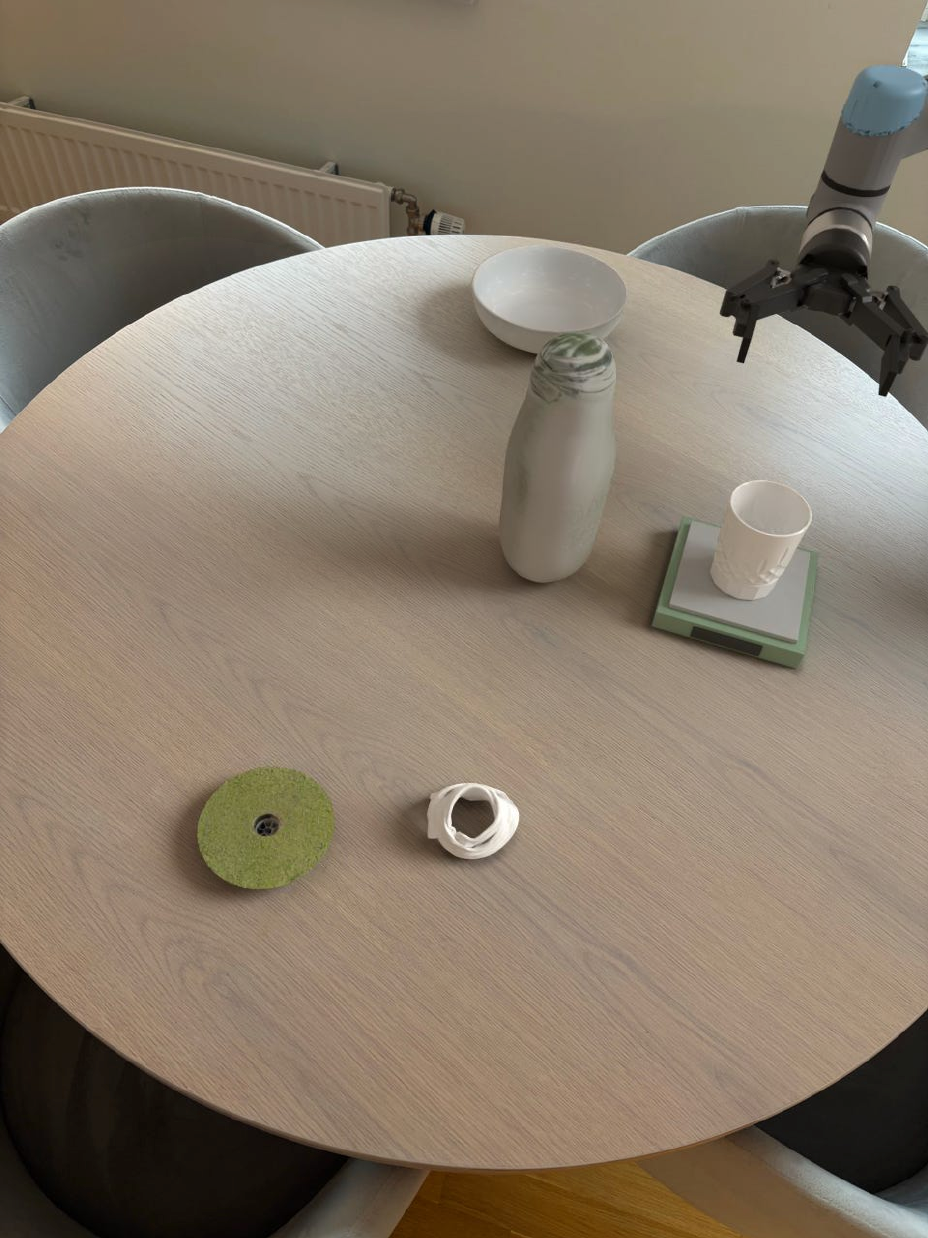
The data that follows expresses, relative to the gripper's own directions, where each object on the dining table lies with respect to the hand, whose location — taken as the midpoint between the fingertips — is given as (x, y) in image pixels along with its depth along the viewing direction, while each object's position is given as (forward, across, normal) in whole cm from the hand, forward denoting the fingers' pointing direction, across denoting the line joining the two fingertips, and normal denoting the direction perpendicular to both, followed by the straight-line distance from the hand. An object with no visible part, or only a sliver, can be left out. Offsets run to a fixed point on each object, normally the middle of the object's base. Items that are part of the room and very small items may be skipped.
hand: (814, 367), depth 90 cm
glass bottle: (+14, +21, -22) cm, 33 cm away
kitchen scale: (+10, 0, -22) cm, 25 cm away
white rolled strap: (+46, +18, -23) cm, 54 cm away
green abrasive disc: (+53, +34, -22) cm, 66 cm away
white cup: (+10, 0, -20) cm, 22 cm away
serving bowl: (-29, +33, -22) cm, 49 cm away
